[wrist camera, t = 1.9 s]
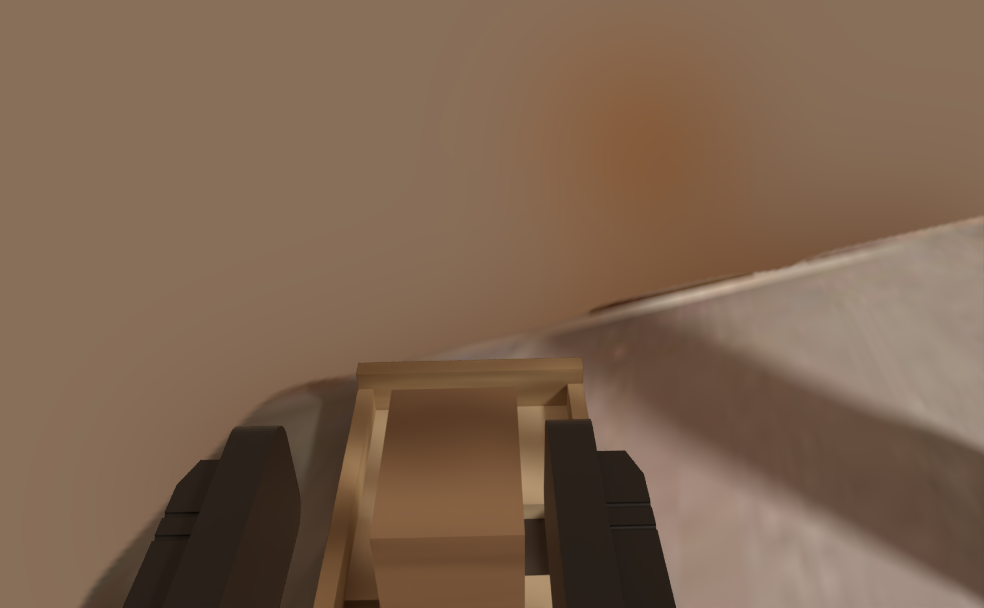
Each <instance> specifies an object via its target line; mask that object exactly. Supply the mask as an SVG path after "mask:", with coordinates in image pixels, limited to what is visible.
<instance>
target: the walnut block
mask: <svg viewBox="0 0 984 608" xmlns="http://www.w3.org/2000/svg"><path fill="white" fill-rule="evenodd" d="M369 540H370V546H371V552H372V559H373V565H374V571H375V577H376V584H377V590H378V596H379V602H380V608H525V528H524V511H523V495H522V478H521V461H520V445H519V428H518V412H517V395H516V387H484V388H444V389H404V390H392V391H391V397H390V404H389V411H388V417H387V424H386V431H385V437H384V444H383V451H382V457H381V464H380V471H379V477H378V484H377V491H376V497H375V504H374V511H373V517H372V524H371V531H370V538H369Z"/></svg>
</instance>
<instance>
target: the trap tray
mask: <svg viewBox="0 0 984 608" xmlns="http://www.w3.org/2000/svg"><path fill="white" fill-rule="evenodd" d="M356 378H357V384H358V393H357V398H356V402H355V407H354V412H353V417H352V422H351V427H350V432H349V436H348V441H347V446H346V451H345V456H344V461H343V465H342V470H341V475H340V480H339V485H338V490H337V495H336V499H335V504H334V509H333V514H332V519H331V524H330V528H329V533H328V538H327V543H326V548H325V553H324V558H323V562H322V567H321V572H320V577H319V582H318V587H317V592H316V596H315V601H314V606H313V608H380V602H379V596H378V590H377V584H376V577H375V571H374V565H373V559H372V552H371V546H370V540H369V538H370V531H371V524H372V517H373V511H374V504H375V497H376V491H377V484H378V477H379V471H380V464H381V457H382V451H383V444H384V437H385V431H386V424H387V417H388V411H389V404H390V397H391V391H392V390H404V389H444V388H484V387H516V395H517V412H518V428H519V445H520V461H521V478H522V495H523V511H524V528H525V608H552V597H551V585H550V574H549V563H548V552H547V540H546V529H545V515H544V448H545V421H546V420H561V419H589V418H588V412H587V407H586V401H585V395H584V389H583V364H582V359H581V357H574V358H534V359H495V360H455V361H415V362H380V363H379V362H376V363H358V368H357V372H356Z"/></svg>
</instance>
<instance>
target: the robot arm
mask: <svg viewBox="0 0 984 608" xmlns="http://www.w3.org/2000/svg"><path fill="white" fill-rule="evenodd" d="M544 515H545V529H546V540H547V552H548V563H549V574H550V585H551V597H552V608H676V605H675V601H674V597H673V593H672V589H671V585H670V580H669V576H668V572H667V568H666V564H665V560H664V555H663V551H662V547H661V543H660V539H659V535H658V531H657V530H656V522H655V518H654V514H653V510H652V507H651V505H650V497H649V493H648V489H647V485H646V481H645V477H644V474H643V472H642V471H641V470H640V469H639V467H638V466H637V465H636V464H635V462H634V461H633V460H632V459H631V457H630V456H629V455H628V454H627V452H626V451H597V448H596V443H595V437H594V432H593V426H592V422H591V419H561V420H546V421H545V448H544ZM299 523H300V493H299V488H298V483H297V479H296V474H295V470H294V465H293V461H292V456H291V452H290V447H289V443H288V438H287V434H286V431H285V429H284V427H283V426H249V427H235V428H234V429H233V430H232V432H231V434H230V436H229V438H228V441H227V444H226V446H225V449H224V451H223V454H222V456H221V459H220V460H200V461H199V462H198V463H197V464H196V466H195V467H194V468H193V469H192V470H191V471H190V472H189V473H188V474H187V475H186V476H185V477H184V478H183V479H182V480H181V481H180V482H179V483H178V484H177V486H176V488H175V490H174V492H173V495H172V497H171V499H170V501H169V504H168V506H167V508H166V510H165V517H164V518H162V520H161V522H160V524H159V526H158V529H157V531H156V533H155V540H154V541H152V542H151V544H150V547H149V549H148V551H147V553H146V556H145V558H144V560H143V563H142V565H141V567H140V569H139V572H138V574H137V576H136V578H135V581H134V583H133V585H132V587H131V590H130V592H129V594H128V596H127V599H126V601H125V603H124V606H123V608H279V606H280V602H281V598H282V594H283V590H284V586H285V582H286V578H287V574H288V570H289V566H290V562H291V558H292V554H293V550H294V546H295V542H296V538H297V534H298V529H299Z"/></svg>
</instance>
